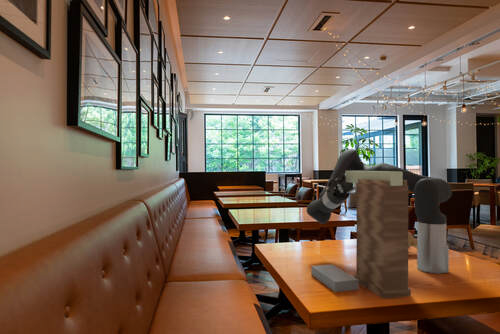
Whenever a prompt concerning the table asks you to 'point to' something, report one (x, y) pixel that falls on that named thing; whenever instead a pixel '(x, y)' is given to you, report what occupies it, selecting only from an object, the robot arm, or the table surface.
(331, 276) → the base block
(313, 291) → the table surface
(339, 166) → the robot arm
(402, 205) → the pedestal
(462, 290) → the table surface
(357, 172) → the pale green bar
